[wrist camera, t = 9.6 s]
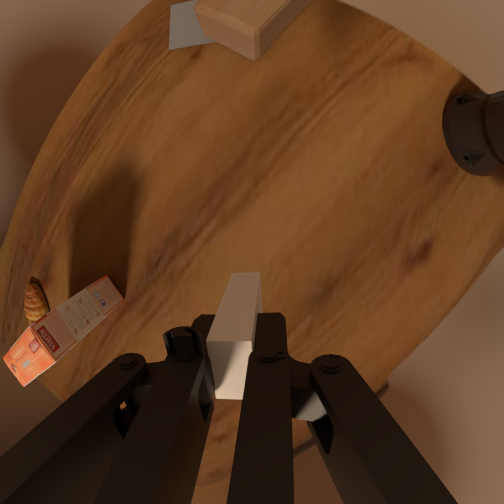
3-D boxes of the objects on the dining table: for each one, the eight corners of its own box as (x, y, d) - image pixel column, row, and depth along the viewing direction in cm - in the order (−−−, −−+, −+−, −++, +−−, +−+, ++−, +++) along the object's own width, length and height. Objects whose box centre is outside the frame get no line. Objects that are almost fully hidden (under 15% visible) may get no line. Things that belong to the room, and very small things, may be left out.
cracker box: (106, 271, 46) (28, 324, 26) (126, 299, 47) (57, 365, 27) (67, 306, 48) (-1, 358, 28) (84, 330, 49) (23, 389, 29)
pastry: (25, 280, 48) (15, 286, 44) (45, 283, 48) (33, 289, 44) (35, 319, 50) (25, 326, 47) (54, 323, 50) (44, 331, 46)
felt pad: (242, -6, 33) (241, -7, 32) (245, 38, 35) (245, 37, 35) (171, 5, 34) (170, 4, 33) (169, 50, 36) (169, 49, 36)
